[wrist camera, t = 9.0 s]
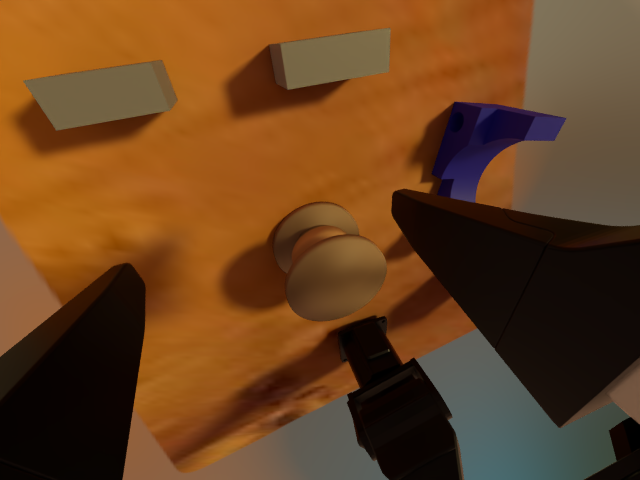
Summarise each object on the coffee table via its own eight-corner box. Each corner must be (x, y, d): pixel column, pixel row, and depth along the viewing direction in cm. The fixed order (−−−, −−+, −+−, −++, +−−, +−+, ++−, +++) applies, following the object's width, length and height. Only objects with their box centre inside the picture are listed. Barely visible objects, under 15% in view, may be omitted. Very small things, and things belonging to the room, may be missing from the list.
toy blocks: (362, 68, 18) (389, 71, 16) (84, 116, 15) (56, 130, 12) (362, 31, 17) (390, 27, 14) (60, 74, 14) (22, 80, 11)
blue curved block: (453, 101, 22) (518, 115, 17) (495, 104, 23) (566, 118, 19) (412, 228, 29) (451, 263, 24) (447, 224, 30) (490, 257, 25)
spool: (356, 260, 28) (385, 302, 24) (282, 283, 27) (296, 333, 22) (354, 191, 23) (388, 227, 19) (263, 215, 22) (276, 260, 17)
